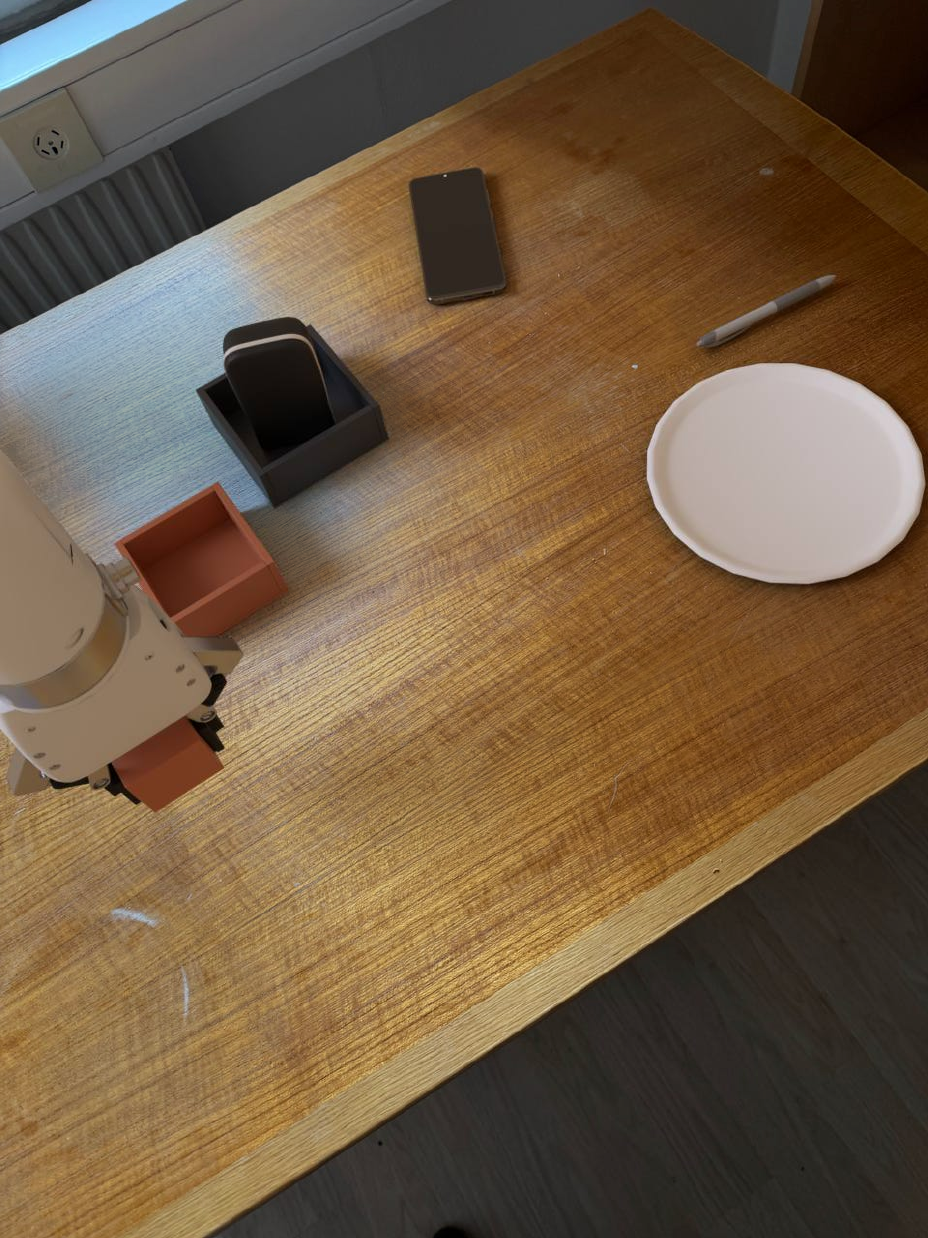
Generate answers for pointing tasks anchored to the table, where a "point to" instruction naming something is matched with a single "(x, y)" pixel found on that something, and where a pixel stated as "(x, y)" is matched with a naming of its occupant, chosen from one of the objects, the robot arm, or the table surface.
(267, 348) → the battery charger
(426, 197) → the smartphone
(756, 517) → the plate
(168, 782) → the clay block
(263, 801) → the table surface
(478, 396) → the table surface
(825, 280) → the pen
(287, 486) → the dark bin
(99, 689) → the robot arm
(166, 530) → the clay bin
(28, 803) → the table surface
